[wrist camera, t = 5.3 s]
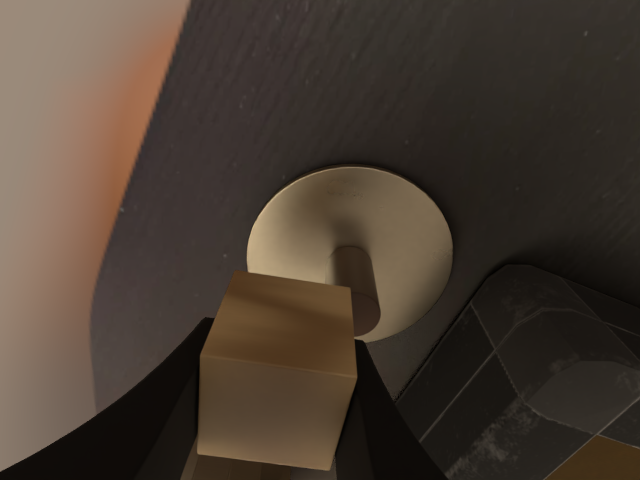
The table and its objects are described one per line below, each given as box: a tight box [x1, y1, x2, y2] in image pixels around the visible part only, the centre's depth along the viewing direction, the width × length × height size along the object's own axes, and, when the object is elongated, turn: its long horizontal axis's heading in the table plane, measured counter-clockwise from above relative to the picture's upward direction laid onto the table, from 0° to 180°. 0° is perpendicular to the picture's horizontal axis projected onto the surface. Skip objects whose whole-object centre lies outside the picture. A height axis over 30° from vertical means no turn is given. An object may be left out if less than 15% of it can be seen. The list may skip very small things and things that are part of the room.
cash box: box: [395, 264, 640, 480], centre depth 23 cm, size 25×20×8 cm
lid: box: [247, 164, 453, 343], centre depth 19 cm, size 11×11×5 cm
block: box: [197, 270, 357, 470], centre depth 12 cm, size 4×4×4 cm
